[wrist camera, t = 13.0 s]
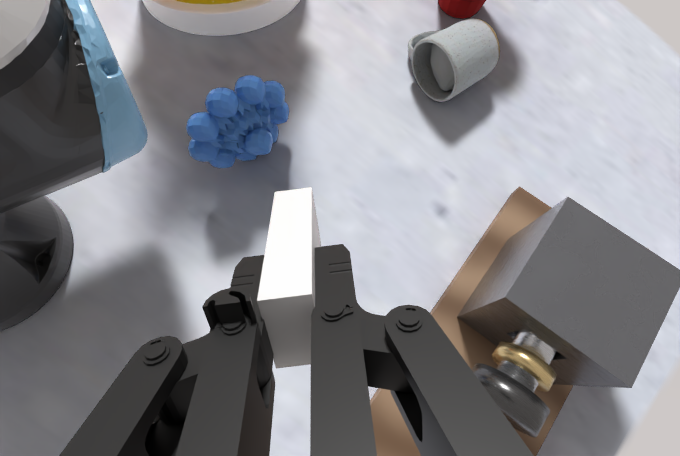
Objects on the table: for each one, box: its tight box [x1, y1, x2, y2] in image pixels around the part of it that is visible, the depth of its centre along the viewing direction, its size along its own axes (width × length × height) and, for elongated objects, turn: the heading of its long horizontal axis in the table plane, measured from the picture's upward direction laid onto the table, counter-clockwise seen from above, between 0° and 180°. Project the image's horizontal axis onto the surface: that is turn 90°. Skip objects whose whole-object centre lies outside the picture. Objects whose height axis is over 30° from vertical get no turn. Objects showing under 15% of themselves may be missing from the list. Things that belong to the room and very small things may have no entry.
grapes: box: [186, 75, 289, 168], centre depth 41 cm, size 12×7×12 cm, turn 133°
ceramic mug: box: [408, 18, 500, 102], centre depth 49 cm, size 10×8×7 cm
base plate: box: [370, 187, 573, 456], centre depth 41 cm, size 32×14×2 cm, turn 142°
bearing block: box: [457, 197, 680, 388], centre depth 36 cm, size 10×10×11 cm
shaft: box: [472, 329, 557, 437], centre depth 34 cm, size 18×6×6 cm, turn 142°
